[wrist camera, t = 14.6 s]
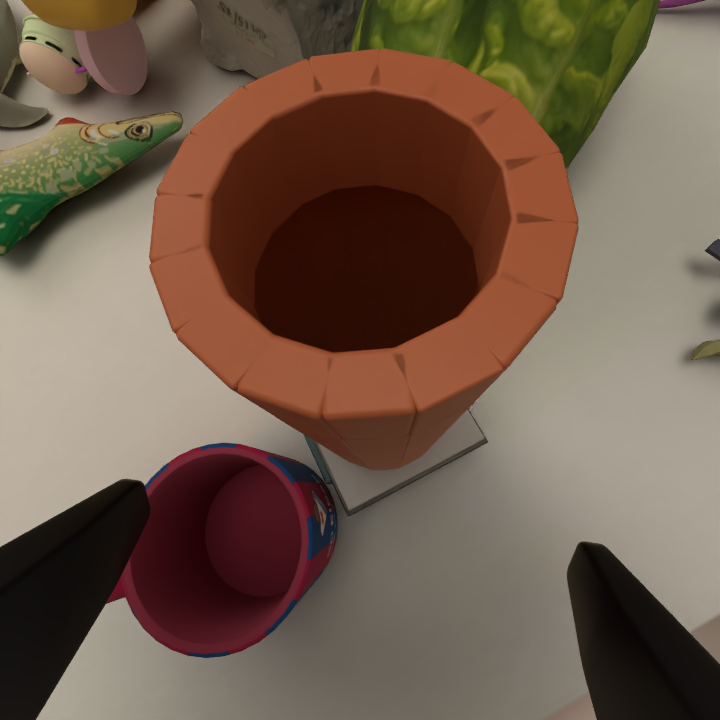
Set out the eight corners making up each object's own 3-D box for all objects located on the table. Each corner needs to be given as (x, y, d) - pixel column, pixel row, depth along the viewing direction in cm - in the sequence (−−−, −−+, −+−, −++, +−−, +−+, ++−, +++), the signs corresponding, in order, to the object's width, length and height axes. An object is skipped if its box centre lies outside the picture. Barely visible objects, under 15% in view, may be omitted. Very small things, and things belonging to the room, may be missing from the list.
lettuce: (321, 292, 29) (198, 191, 16) (434, -12, 30) (400, -326, 17) (530, 356, 25) (581, 284, 12) (654, -2, 26) (820, -412, 13)
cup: (351, 582, 20) (332, 628, 13) (145, 635, 20) (23, 708, 13) (321, 442, 22) (291, 422, 15) (134, 490, 22) (24, 491, 15)
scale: (476, 447, 21) (492, 440, 18) (346, 516, 21) (338, 522, 17) (409, 332, 23) (412, 308, 20) (289, 393, 23) (273, 377, 19)
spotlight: (97, -18, 34) (2, -141, 26) (189, -16, 32) (115, -147, 25) (53, 118, 32) (-60, 29, 25) (145, 127, 31) (54, 35, 23)
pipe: (421, 487, 18) (520, 488, 4) (303, 446, 18) (72, 336, 5) (456, 369, 19) (612, 87, 6) (344, 336, 20) (247, 22, 6)
